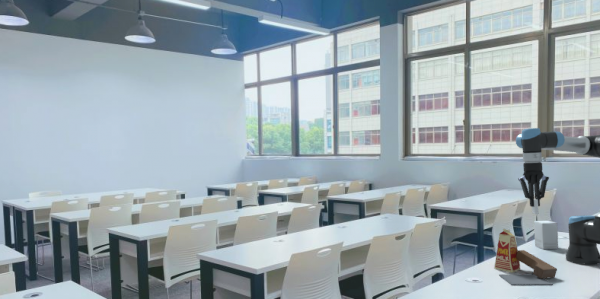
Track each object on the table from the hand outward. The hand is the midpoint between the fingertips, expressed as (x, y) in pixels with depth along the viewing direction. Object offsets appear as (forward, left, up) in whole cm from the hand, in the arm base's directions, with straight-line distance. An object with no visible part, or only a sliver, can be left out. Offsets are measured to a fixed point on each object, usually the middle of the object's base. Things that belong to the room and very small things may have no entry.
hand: (535, 213), depth 192 cm
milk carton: (+9, -12, -29) cm, 33 cm away
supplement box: (-30, -55, -29) cm, 69 cm away
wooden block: (-3, +5, -26) cm, 27 cm away
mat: (+8, +6, -29) cm, 30 cm away
